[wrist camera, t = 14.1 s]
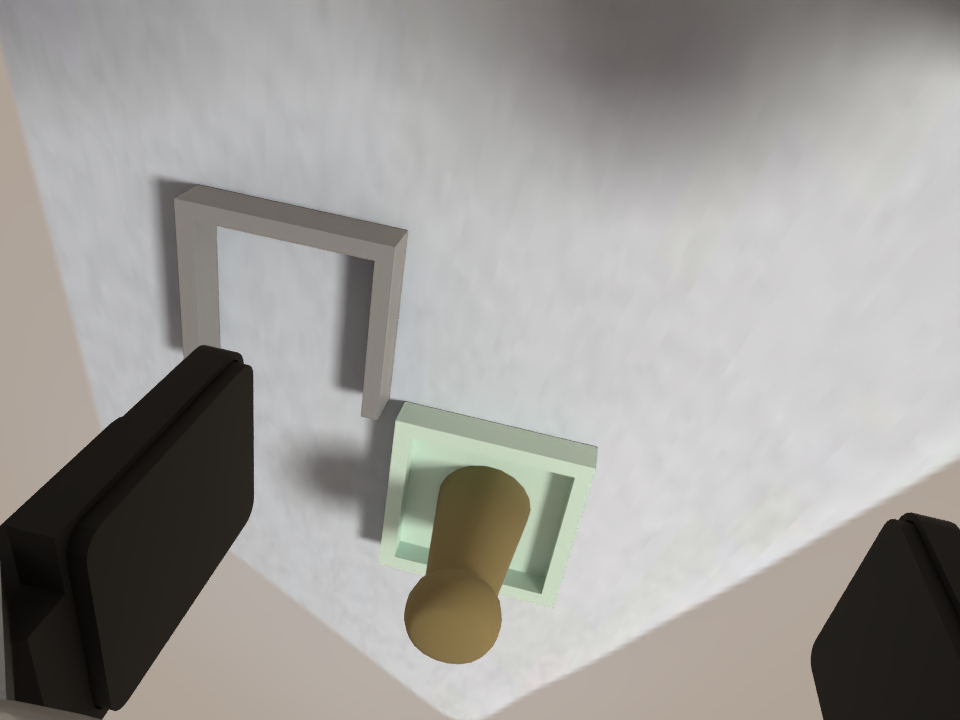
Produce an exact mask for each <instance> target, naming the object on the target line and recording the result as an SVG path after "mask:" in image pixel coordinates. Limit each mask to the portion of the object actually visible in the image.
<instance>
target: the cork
mask: <svg viewBox="0 0 960 720" xmlns="http://www.w3.org/2000/svg"><path fill="white" fill-rule="evenodd" d="M530 511H531V509H530V499H529V497H528V495H527V493H526V491H525V489H524V487H523V486H522V485H521V484H520V483H519V482H518V481H517V480H516V479H515V478H514V477H512V476H510V475H509V474H507V473H505V472H503V471H502V470H499V469H495V468H492V467H488V466H468V467H464V468H460V469H457V470H456V471H454V472H452V473H451V474H449V475H448V476H447V477H446V478H445V480H444V481H443V482H442V484H441V485H440V489H439V494H438V499H437V505H436V512H435V518H434V524H433V530H432V537H431V543H430V549H429V556H428V562H427V568H426V574H425V576H424V577H422V578H421V579H420V581H419V582H418V583H417V584H416V586H415V587H414V588H413V590H412V591H411V592H410V594H409V597H408V599H407V603H406V607H405V613H404V621H405V626H406V630H407V633H408V636H409V638H410V639H411V641H412V642H413V644H414V646H415V647H417V648H418V649H419V650H420V651H421V652H422V653H423V654H425V655H427V656H429V657H431V658H433V659H435V660H438V661H441V662H445V663H451V664H464V663H471V662H473V661H475V660H477V659H479V658H481V657H482V656H483V655H485V654H486V653H487V652H488V651H489V650H490V649H491V648H492V647H493V645H494V643H495V641H496V640H497V637H498V634H499V631H500V627H501V622H502V617H501V608H500V601H499V599H498V597H497V596H498V594H499V591H500V589H501V586H502V584H503V581H504V579H505V576H506V574H507V571H508V569H509V566H510V564H511V561H512V559H513V556H514V554H515V551H516V549H517V546H518V543H519V541H520V538H521V536H522V533H523V531H524V528H525V526H526V523H527V521H528V517H529V514H530Z"/></svg>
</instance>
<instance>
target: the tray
mask: <svg viewBox="0 0 960 720" xmlns="http://www.w3.org/2000/svg"><path fill="white" fill-rule="evenodd" d="M597 450H598V447H594V446H590V445H586V444H582V443H578V442H573V441H569V440H565V439H561V438H557V437H552V436H548V435H544V434H540V433H536V432H531V431H527V430H523V429H519V428H515V427H510V426H506V425H502V424H498V423H494V422H489V421H485V420H481V419H477V418H473V417H468V416H464V415H460V414H456V413H452V412H448V411H443V410H439V409H435V408H431V407H427V406H422V405H418V404H414V403H410V402H406V401H405V403H404V405H403V407H402V409H401V411H400V413H399V415H398V417H397V419H396V421H395V430H394V438H393V447H392V455H391V464H390V472H389V480H388V489H387V497H386V506H385V514H384V523H383V531H382V540H381V548H380V557H379V564H383V565H387V566H390V567H394V568H398V569H402V570H406V571H410V572H414V573H418V574H422V575H425V574H426V568H427V562H428V556H429V549H430V543H431V537H432V530H433V524H434V518H435V512H436V505H437V499H438V494H439V489H440V485H441V484H442V482H443V481H444V480H445V478H446V477H447V476H448V475H449V474H451V473H452V472H454V471H456V470H457V469H460V468H464V467H468V466H488V467H492V468H495V469H499V470H502V471H503V472H505V473H507V474H509V475H510V476H512V477H514V478H515V479H516V480H517V481H518V482H519V483H520V484H521V485H522V486H523V487H524V489H525V491H526V493H527V495H528V497H529V499H530V509H531V511H530V514H529V517H528V521H527V523H526V526H525V528H524V531H523V533H522V536H521V538H520V541H519V543H518V546H517V549H516V551H515V554H514V556H513V559H512V561H511V564H510V566H509V569H508V571H507V574H506V576H505V579H504V581H503V584H502V586H501V589H500V591H499V595H503V596H507V597H511V598H515V599H519V600H523V601H527V602H530V603H534V604H538V605H542V606H546V607H550V608H554V605H555V602H556V598H557V595H558V592H559V588H560V585H561V582H562V579H563V575H564V572H565V569H566V565H567V562H568V559H569V556H570V552H571V549H572V546H573V542H574V539H575V536H576V533H577V529H578V526H579V523H580V519H581V516H582V513H583V510H584V506H585V503H586V500H587V496H588V493H589V490H590V487H591V483H592V480H593V477H594V474H595V470H596V462H597Z"/></svg>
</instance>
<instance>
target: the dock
mask: <svg viewBox="0 0 960 720" xmlns="http://www.w3.org/2000/svg"><path fill="white" fill-rule="evenodd" d="M174 209H175V226H176V242H177V258H178V274H179V290H180V306H181V322H182V338H183V355H184V359H185V358H186V357H187V356H188V355H189V354H190V353H191V352H193V351H194V350H195V349H196V348H197V347H199V346H200V345H208V346H212V347H216V348H220V324H219V292H218V261H217V229H216V226H220V227H225V228H229V229H234V230H238V231H243V232H247V233H252V234H256V235H260V236H265V237H269V238H274V239H278V240H283V241H287V242H292V243H296V244H301V245H305V246H310V247H314V248H319V249H323V250H328V251H332V252H336V253H341V254H345V255H350V256H354V257H359V258H363V259H368V260H372V261H374V273H373V284H372V296H371V307H370V318H369V330H368V341H367V353H366V364H365V375H364V387H363V398H362V409H361V417H365V418H369V419H374V420H378V418H379V416H380V414H381V413H382V411H383V409H384V407H385V405H386V403H387V401H388V400H389V398H390V389H391V380H392V371H393V362H394V353H395V344H396V335H397V326H398V316H399V307H400V298H401V289H402V280H403V271H404V262H405V253H406V244H407V235H408V231H407V230H403V229H398V228H394V227H389V226H385V225H380V224H376V223H371V222H366V221H362V220H357V219H353V218H348V217H344V216H339V215H335V214H330V213H325V212H321V211H316V210H312V209H307V208H303V207H298V206H294V205H289V204H284V203H280V202H275V201H271V200H266V199H262V198H257V197H252V196H248V195H243V194H239V193H234V192H230V191H225V190H221V189H216V188H211V187H207V186H202V185H196V186H195V187H193V188H191V189H189V190H188V191H186V192H184V193H182V194H181V195H179V196H177V197H175V198H174Z"/></svg>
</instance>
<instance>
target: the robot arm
mask: <svg viewBox="0 0 960 720" xmlns="http://www.w3.org/2000/svg"><path fill="white" fill-rule="evenodd" d="M253 502H254V427H253V370H252V367H251V366H250V365H246V364H244V362H243V358H242V355H241V354H239V353H237V352H233V351H229V350H225V349H220V348H216V347H212V346H208V345H200V346H199V347H197V348H196V349H195V350H194V351H193V352H191V353H190V354H189V355H188V356H187V357H186V358H185V359H184V360H183V361H182V362H181V363H180V364H179V365H178V366H176V367H175V368H174V369H173V370H172V371H171V372H170V373H169V374H168V375H167V376H166V377H165V378H164V379H163V380H161V381H160V382H159V383H158V384H157V385H156V386H155V387H154V388H153V389H152V390H151V391H150V392H149V393H148V394H146V395H145V396H144V397H143V398H142V399H141V400H140V401H139V402H138V403H137V404H136V405H135V406H134V407H133V408H131V409H130V410H129V411H128V412H127V413H126V414H125V415H124V416H123V417H119V418H118V419H116V420H115V421H114V422H112V423H111V424H110V425H109V426H107V427H106V428H105V429H104V430H103V431H102V432H101V433H100V434H99V435H98V436H97V437H96V438H95V439H93V440H92V441H91V442H90V443H89V444H88V445H87V446H86V447H85V448H84V449H83V450H82V451H80V453H78V454H77V455H76V456H75V457H74V458H73V459H72V460H71V461H70V462H69V463H68V464H67V465H66V466H64V467H63V468H62V469H61V470H60V471H59V472H58V473H57V474H56V475H55V476H53V477H52V478H51V479H50V480H49V481H48V482H47V483H46V484H45V485H44V486H43V487H42V488H40V489H39V490H38V491H37V492H36V493H35V494H34V495H33V496H32V497H31V498H30V499H29V500H27V501H26V502H25V503H24V504H23V505H22V506H21V507H20V508H19V509H18V510H17V511H16V512H15V513H13V514H12V515H11V516H10V517H9V518H8V519H7V520H6V521H5V522H4V523H3V524H2V525H1V526H0V720H102V719H103V717H104V716H105V714H106V713H107V711H108V710H109V709H110V710H113V711H117V710H119V709H121V708H122V707H123V706H124V705H125V704H126V702H127V701H128V700H129V698H130V697H131V695H132V694H133V692H134V691H135V689H136V688H137V686H138V685H139V683H140V682H141V680H142V678H143V677H144V676H145V674H146V673H147V671H148V670H149V668H150V667H151V665H152V664H153V662H154V661H155V659H156V658H157V656H158V655H159V653H160V651H161V650H162V649H163V647H164V645H165V644H166V643H167V641H168V640H169V638H170V636H171V635H172V634H173V632H174V631H175V629H176V628H177V626H178V625H179V623H180V621H181V620H182V619H183V617H184V616H185V614H186V613H187V611H188V610H189V608H190V607H191V605H192V604H193V602H194V601H195V599H196V598H197V596H198V595H199V593H200V592H201V590H202V589H203V587H204V585H205V584H206V583H207V581H208V580H209V578H210V577H211V575H212V574H213V572H214V571H215V569H216V567H217V566H218V565H219V563H220V562H221V560H222V559H223V557H224V556H225V554H226V553H227V551H228V550H229V548H230V547H231V545H232V544H233V542H234V541H235V539H236V538H237V536H238V535H239V533H240V532H241V530H242V529H243V527H244V526H245V524H246V523H247V521H248V519H249V517H250V514H251V511H252V508H253ZM811 668H812V673H813V677H814V681H815V685H816V690H817V694H818V697H819V702H820V707H821V711H822V715H823V720H960V529H959V528H958V527H957V526H956V524H954V523H952V522H949V521H945V520H940V519H936V518H932V517H928V516H924V515H919V514H915V513H906V514H904V515H903V516H901V517H900V519H899V520H896V519H890V520H889V521H887V522H886V524H885V525H884V526H883V528H882V530H881V531H880V533H879V535H878V536H877V538H876V540H875V541H874V543H873V545H872V546H871V548H870V550H869V551H868V553H867V555H866V556H865V558H864V560H863V562H862V563H861V565H860V566H859V568H858V570H857V571H856V573H855V575H854V577H853V578H852V580H851V582H850V583H849V585H848V587H847V589H846V590H845V592H844V593H843V595H842V597H841V598H840V600H839V602H838V603H837V605H836V607H835V609H834V610H833V612H832V613H831V615H830V617H829V618H828V620H827V622H826V624H825V625H824V627H823V629H822V630H821V632H820V634H819V635H818V637H817V639H816V640H815V643H814V645H813V648H812V653H811Z"/></svg>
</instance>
